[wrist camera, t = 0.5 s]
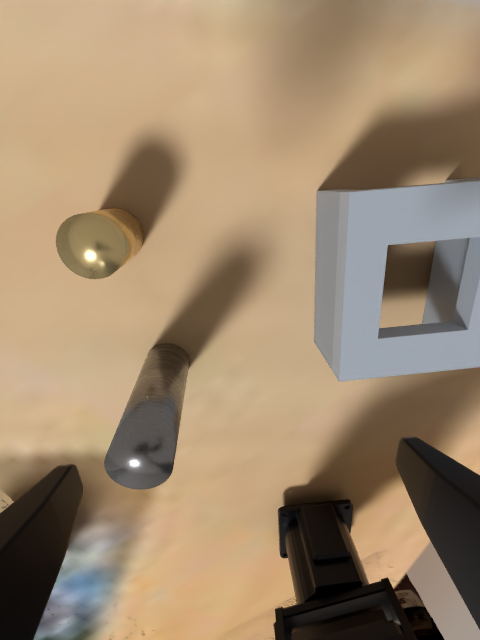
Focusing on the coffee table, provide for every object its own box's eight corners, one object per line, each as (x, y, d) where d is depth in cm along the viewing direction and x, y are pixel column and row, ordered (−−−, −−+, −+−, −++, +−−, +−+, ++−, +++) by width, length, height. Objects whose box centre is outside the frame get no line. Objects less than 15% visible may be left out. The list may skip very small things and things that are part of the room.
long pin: (191, 378, 23) (177, 485, 15) (150, 382, 23) (113, 492, 15) (185, 341, 22) (167, 435, 14) (142, 345, 22) (96, 443, 14)
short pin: (147, 257, 20) (129, 276, 15) (98, 261, 19) (66, 281, 15) (137, 206, 18) (114, 211, 14) (85, 210, 18) (47, 216, 14)
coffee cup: (352, 572, 50) (395, 694, 38) (402, 552, 49) (463, 672, 37) (369, 597, 53) (414, 717, 41) (416, 579, 52) (476, 697, 40)
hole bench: (437, 329, 23) (492, 365, 18) (314, 341, 23) (339, 381, 18) (465, 178, 19) (545, 175, 14) (316, 190, 19) (349, 192, 14)
